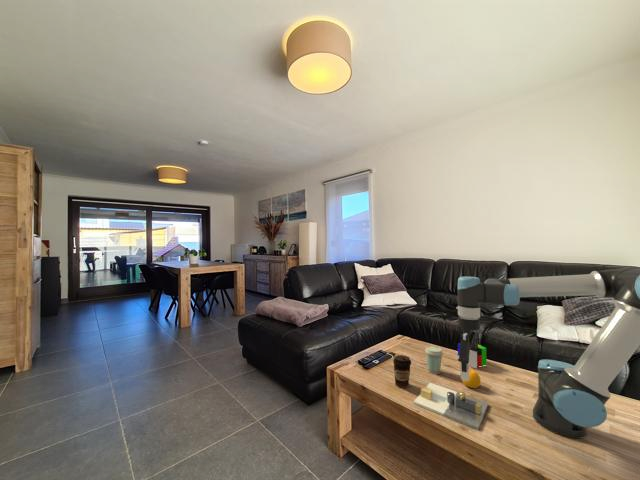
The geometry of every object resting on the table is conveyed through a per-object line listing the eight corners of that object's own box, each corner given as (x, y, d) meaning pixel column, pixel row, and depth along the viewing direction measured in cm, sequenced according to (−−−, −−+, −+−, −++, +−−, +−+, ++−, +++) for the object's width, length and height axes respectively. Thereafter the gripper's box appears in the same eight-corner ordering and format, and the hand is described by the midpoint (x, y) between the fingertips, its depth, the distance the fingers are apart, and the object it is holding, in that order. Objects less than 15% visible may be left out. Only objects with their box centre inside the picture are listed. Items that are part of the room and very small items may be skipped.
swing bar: (455, 405, 109) (455, 392, 109) (457, 402, 111) (457, 389, 111) (480, 414, 103) (480, 401, 103) (481, 410, 106) (481, 397, 106)
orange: (484, 390, 122) (484, 374, 122) (467, 390, 122) (467, 374, 122) (474, 381, 130) (474, 366, 130) (458, 381, 130) (458, 366, 130)
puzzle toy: (457, 360, 153) (457, 343, 153) (471, 358, 156) (471, 341, 156) (472, 368, 144) (472, 350, 144) (486, 366, 147) (486, 348, 147)
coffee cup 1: (412, 390, 122) (412, 362, 122) (393, 388, 124) (393, 361, 124) (410, 381, 130) (410, 354, 131) (392, 379, 132) (392, 353, 132)
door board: (457, 394, 119) (457, 385, 119) (443, 416, 104) (443, 405, 104) (430, 384, 127) (430, 376, 127) (413, 403, 112) (413, 394, 112)
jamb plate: (488, 405, 111) (488, 402, 111) (478, 430, 96) (478, 427, 96) (457, 394, 119) (457, 392, 119) (443, 416, 104) (443, 413, 104)
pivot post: (455, 404, 112) (455, 393, 112) (453, 407, 110) (453, 396, 110) (448, 401, 114) (448, 391, 114) (446, 404, 112) (446, 393, 112)
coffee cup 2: (441, 377, 134) (441, 353, 135) (423, 372, 139) (423, 349, 139) (443, 370, 142) (443, 347, 142) (426, 366, 146) (426, 344, 146)
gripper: (465, 309, 113) (466, 359, 113) (448, 322, 95) (449, 382, 95) (486, 312, 108) (486, 365, 108) (472, 326, 90) (472, 390, 90)
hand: (469, 373), depth 101 cm, fingers open, 12 cm apart
